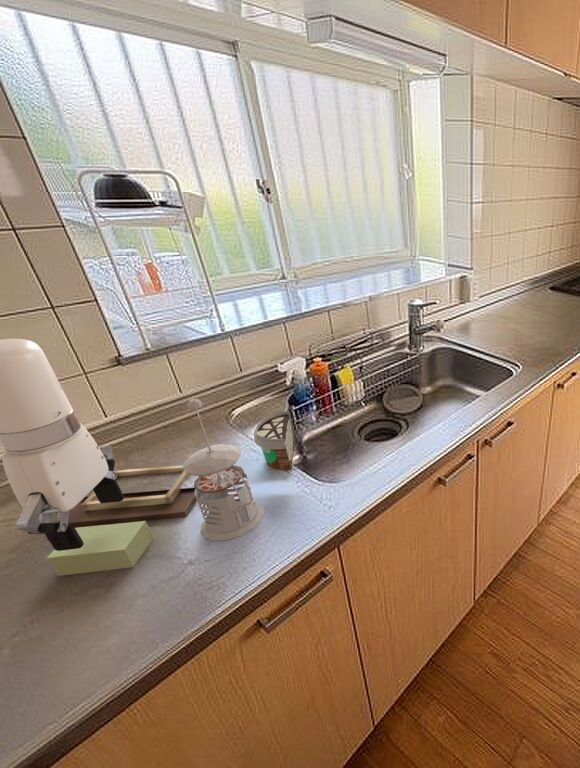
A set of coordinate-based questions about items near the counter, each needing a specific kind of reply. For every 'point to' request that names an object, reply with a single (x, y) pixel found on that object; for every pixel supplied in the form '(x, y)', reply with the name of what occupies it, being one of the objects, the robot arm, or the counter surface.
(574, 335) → the counter surface
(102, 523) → the back board
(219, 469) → the french press
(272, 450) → the food container
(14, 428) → the robot arm
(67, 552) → the green rectangular block
